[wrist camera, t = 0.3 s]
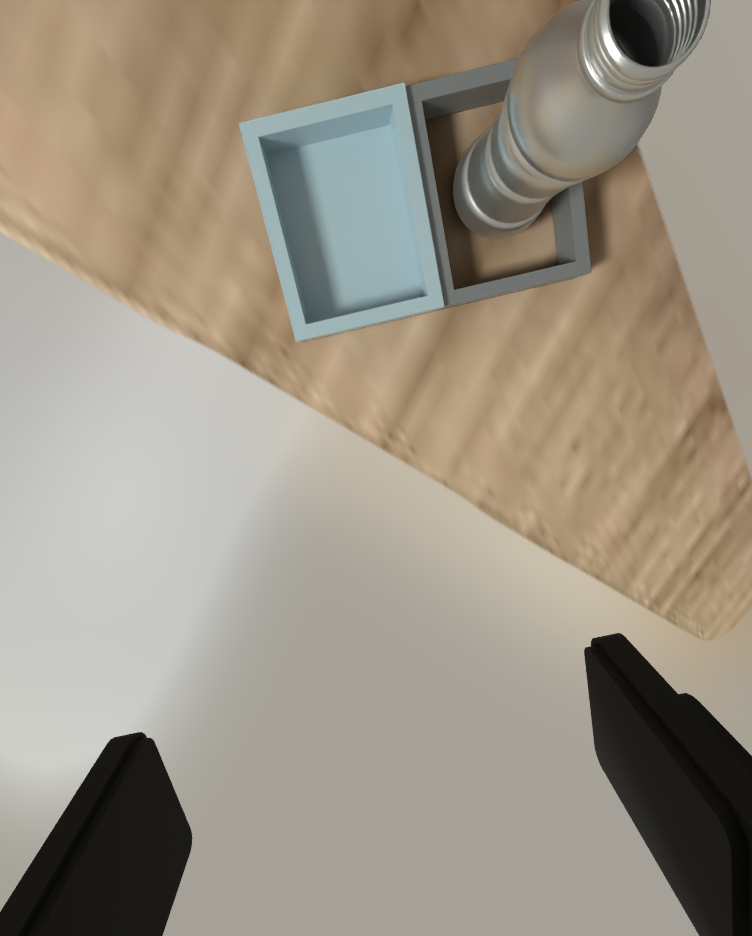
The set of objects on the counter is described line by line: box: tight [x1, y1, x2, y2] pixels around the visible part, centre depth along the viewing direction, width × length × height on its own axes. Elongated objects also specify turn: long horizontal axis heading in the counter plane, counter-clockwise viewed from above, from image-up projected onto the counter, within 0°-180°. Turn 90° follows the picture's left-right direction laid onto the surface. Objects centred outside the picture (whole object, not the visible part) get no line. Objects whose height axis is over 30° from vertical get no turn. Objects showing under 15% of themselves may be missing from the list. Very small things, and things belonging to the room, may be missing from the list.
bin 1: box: [239, 83, 444, 342], centre depth 33 cm, size 14×11×4 cm
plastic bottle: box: [453, 0, 711, 239], centre depth 25 cm, size 6×7×20 cm
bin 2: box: [405, 59, 591, 311], centre depth 33 cm, size 14×11×3 cm
